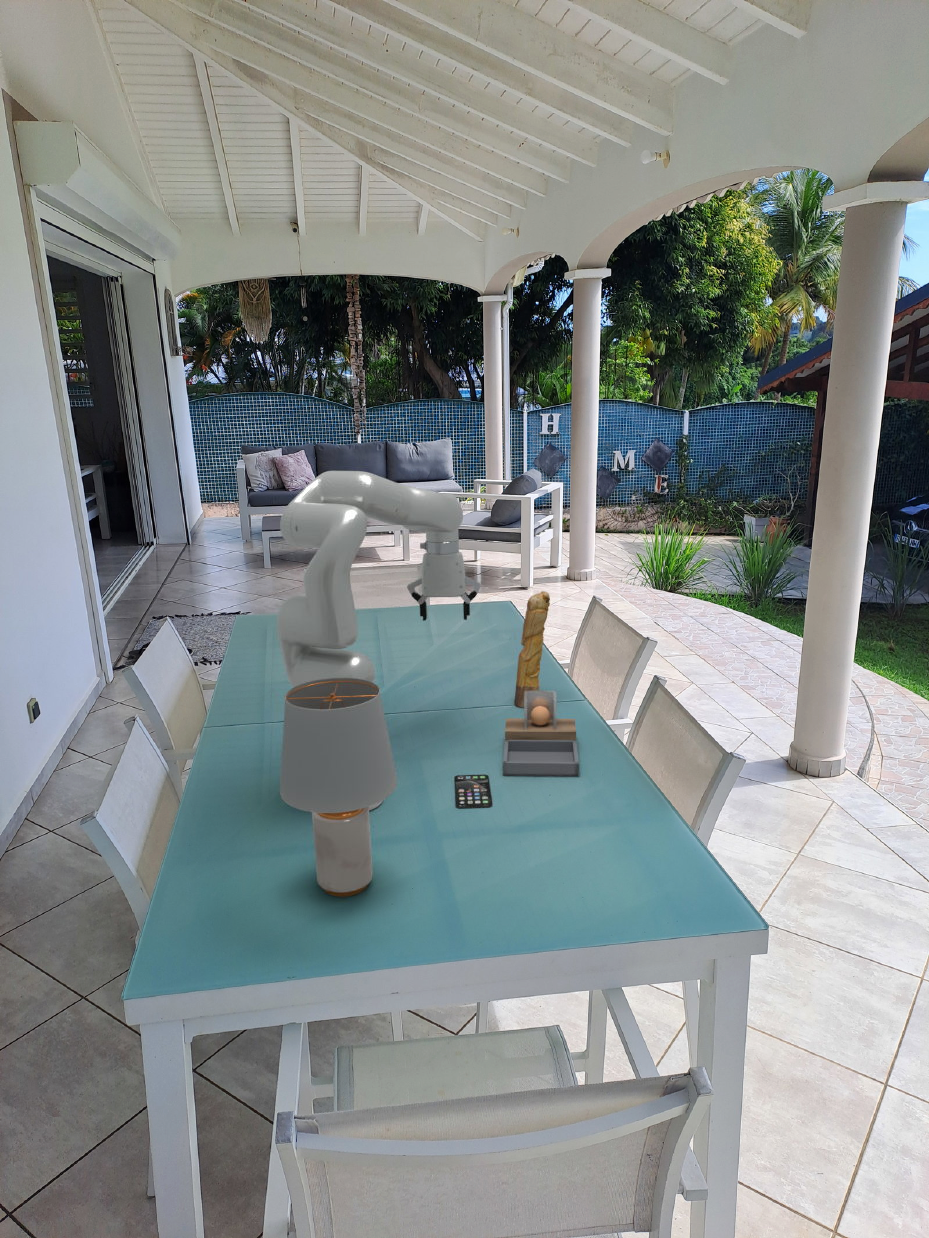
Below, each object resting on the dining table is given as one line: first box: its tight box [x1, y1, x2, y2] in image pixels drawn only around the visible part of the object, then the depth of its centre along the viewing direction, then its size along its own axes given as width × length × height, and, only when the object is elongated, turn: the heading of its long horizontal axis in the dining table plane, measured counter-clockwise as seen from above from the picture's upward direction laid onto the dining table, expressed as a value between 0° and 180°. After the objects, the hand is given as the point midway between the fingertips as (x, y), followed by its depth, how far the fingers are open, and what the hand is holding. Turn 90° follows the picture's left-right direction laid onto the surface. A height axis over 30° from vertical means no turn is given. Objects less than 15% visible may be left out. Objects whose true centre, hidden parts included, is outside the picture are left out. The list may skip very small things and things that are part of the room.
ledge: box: [504, 717, 577, 741], centre depth 199 cm, size 8×16×5 cm, turn 85°
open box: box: [523, 690, 557, 730], centre depth 198 cm, size 7×7×7 cm
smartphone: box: [453, 774, 493, 810], centre depth 178 cm, size 7×1×15 cm
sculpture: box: [513, 590, 551, 709], centre depth 222 cm, size 7×9×30 cm
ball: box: [531, 706, 550, 725], centre depth 198 cm, size 4×4×4 cm
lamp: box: [279, 678, 398, 898], centre depth 141 cm, size 19×19×34 cm
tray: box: [502, 739, 580, 778], centre depth 190 cm, size 13×16×3 cm
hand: (445, 618), depth 205 cm, fingers open, 9 cm apart
